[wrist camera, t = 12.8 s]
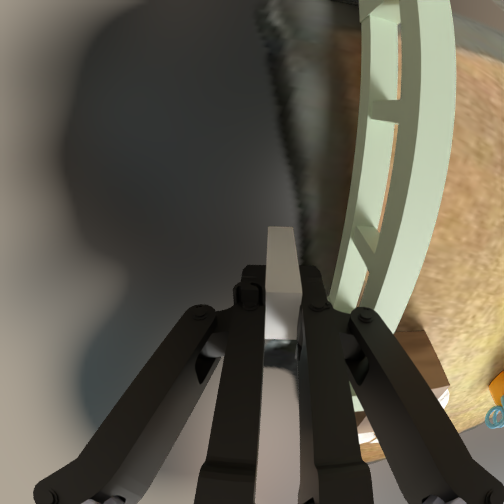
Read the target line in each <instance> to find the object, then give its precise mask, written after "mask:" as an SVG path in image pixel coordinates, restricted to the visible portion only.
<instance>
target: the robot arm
mask: <svg viewBox="0 0 504 504" xmlns="http://www.w3.org/2000/svg"><path fill="white" fill-rule="evenodd" d="M233 296H234V305H233V306H232V307H231V308H228V309H226V310H222V311H216V312H215V309H213V308H212V307H211V306H208V305H202V304H200V305H194V306H192V307H190V308H189V309H188V310H187V311H186V312H185V313H184V314H183V316H182V317H181V318H180V319H179V321H178V322H177V323H176V325H175V326H174V327H173V329H172V330H171V331H170V333H169V334H168V335H167V337H166V338H165V339H164V341H163V342H162V343H161V344H160V346H159V347H158V349H157V350H156V351H155V352H154V354H153V355H152V356H151V358H150V359H149V361H148V362H147V363H146V364H145V366H144V367H143V369H142V370H141V371H140V372H139V374H138V375H137V376H136V378H135V379H134V381H133V382H132V383H131V385H130V386H129V387H128V389H127V390H126V391H125V393H124V394H123V395H122V397H121V398H120V400H119V401H118V402H117V404H116V405H115V406H114V408H113V409H112V410H111V412H110V413H109V415H108V416H107V417H106V419H105V420H104V421H103V423H102V424H101V426H100V427H99V428H98V430H97V431H96V433H95V434H94V436H93V437H92V438H91V440H90V441H89V442H88V444H87V445H86V447H85V448H84V449H83V451H82V452H81V454H80V455H79V456H78V458H77V459H75V460H74V461H72V462H70V463H69V464H67V465H66V466H65V467H63V468H61V469H59V470H58V471H56V472H54V473H53V474H51V475H50V476H48V477H46V478H45V479H43V480H41V481H40V482H39V483H38V484H37V485H35V488H34V491H33V496H34V500H35V503H36V504H137V503H138V502H139V501H140V499H141V498H142V497H143V496H144V494H145V493H146V491H147V490H148V488H149V487H150V485H151V483H152V482H153V480H154V478H155V477H156V475H157V473H158V471H159V470H160V468H161V466H162V464H163V463H164V461H165V459H166V457H167V456H168V454H169V452H170V450H171V449H172V447H173V445H174V443H175V441H176V440H177V438H178V436H179V434H180V433H181V431H182V429H183V427H184V425H185V424H186V422H187V420H188V418H189V416H190V415H191V413H192V411H193V409H194V407H195V405H196V404H197V402H198V400H199V398H200V396H201V394H202V393H203V391H204V389H205V387H206V385H207V383H208V381H209V380H210V378H211V375H212V374H213V372H214V370H215V368H216V367H217V365H218V363H219V361H220V359H221V356H224V361H223V367H222V372H221V378H220V384H219V389H218V395H217V400H216V406H215V411H214V417H213V422H212V428H211V434H210V439H209V445H208V451H207V456H206V461H205V462H204V464H203V465H202V467H201V469H200V473H199V477H198V483H197V488H196V494H195V500H194V504H255V492H256V477H257V464H258V449H259V434H260V417H261V400H262V384H263V383H262V382H263V365H264V343H265V339H296V338H297V339H298V341H297V347H296V354H295V359H297V369H298V391H299V417H300V418H299V419H300V487H299V493H298V504H374V501H373V490H372V480H371V473H370V468H369V466H368V464H367V463H365V462H364V461H363V460H362V458H361V452H360V444H359V437H358V430H357V424H356V417H355V411H354V405H353V400H352V394H351V389H350V383H351V385H352V387H353V389H354V391H355V393H356V396H357V398H358V400H359V402H360V404H361V406H362V408H363V410H364V412H365V414H366V416H367V418H368V420H369V422H370V425H371V427H372V429H373V431H374V433H375V435H376V437H377V439H378V442H379V444H380V446H381V448H382V450H383V452H384V455H385V457H386V459H387V461H388V463H389V465H390V468H391V470H392V472H393V474H394V476H395V479H396V481H397V483H398V486H399V488H400V490H401V492H402V494H403V496H404V498H405V499H406V500H407V502H408V504H503V502H504V486H503V484H502V483H501V482H500V481H498V480H497V479H496V478H495V477H494V476H492V475H491V474H490V473H489V472H488V471H486V470H485V469H484V468H483V467H482V466H480V465H479V464H478V463H477V462H476V461H475V460H473V459H472V457H471V455H470V453H469V452H468V450H467V448H466V446H465V445H464V443H463V441H462V439H461V437H460V436H459V434H458V432H457V430H456V429H455V427H454V425H453V424H452V422H451V420H450V419H449V417H448V415H447V414H446V412H445V410H444V409H443V407H442V406H441V404H440V402H439V401H438V399H437V398H436V396H435V395H434V393H433V391H432V390H431V388H430V387H429V385H428V384H427V382H426V381H425V379H424V378H423V376H422V375H421V373H420V372H419V370H418V369H417V367H416V366H415V364H414V363H413V361H412V360H411V359H410V357H409V356H408V354H407V353H406V351H405V350H404V349H403V347H402V346H401V344H400V343H399V342H398V340H397V339H396V337H395V336H394V335H393V333H392V332H391V330H390V329H389V328H388V326H387V325H386V324H385V322H384V321H383V320H382V318H381V317H380V316H379V314H378V313H377V312H376V311H375V310H373V309H371V308H367V307H357V308H355V309H353V310H352V311H351V314H349V313H344V312H341V311H338V310H336V309H334V308H333V306H332V304H331V303H330V302H329V301H328V300H327V297H326V293H325V289H324V285H323V281H322V277H321V273H320V271H319V270H318V269H317V267H316V266H304V265H299V264H298V258H297V251H296V244H295V238H294V231H293V227H275V226H268V242H267V264H266V265H247V266H246V267H245V268H244V269H243V272H242V277H241V282H239V283H238V284H237V285H235V286H234V288H233ZM349 381H350V383H349Z"/></svg>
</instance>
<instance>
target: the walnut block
mask: <svg viewBox="0 0 504 504" xmlns="http://www.w3.org/2000/svg"><path fill="white" fill-rule="evenodd" d="M393 335H394V336H395V337H396V339H397V340H398V342H399V343H400V344H401V346H402V347H403V349H404V350H405V351H406V353H407V354H408V356H409V357H410V359H411V360H412V361H413V363H414V364H415V366H416V367H417V369H418V370H419V372H420V373H421V375H422V376H423V378H424V379H425V381H426V382H427V384H428V385H429V387H430V388H431V390H432V391H433V393H434V395H435V396H436V398H437V399H439V398H440V397H441V395H442V394H443V393H444V392H445V391H446V390H447V388H448V387H449V386H450V384H449V382H448V379H447V377H446V375H445V372H444V370H443V368H442V366H441V363H440V361H439V359H438V357H437V355H436V353H435V351H434V348H433V346H432V344H431V342H430V340H429V338H428V336H427V334H426V332H425V331H409V332H394V334H393ZM355 417H356V424H357V430H358V434H361V433H369V432H374V431H373V429H372V427H371V425H370V422H369V420H368V418H367V416H366V414H365V412H364V411H356V412H355Z"/></svg>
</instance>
